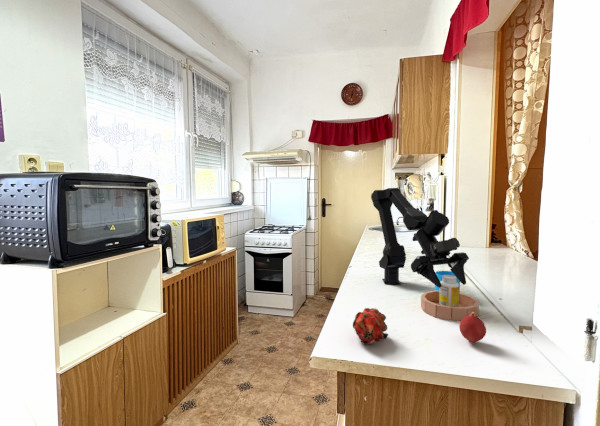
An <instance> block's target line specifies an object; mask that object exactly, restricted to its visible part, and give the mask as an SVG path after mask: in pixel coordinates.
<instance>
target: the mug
mask: <svg viewBox="0 0 600 426" xmlns="http://www.w3.org/2000/svg"><path fill="white" fill-rule="evenodd" d="M435 273H436V275H437V277H438V279H439V281H440V282H441V281H442V278H443V275H453V276H455V275H454V274H453V273H452V271H451V270H437V271H435ZM456 280H457V281H456V282H457V283H458V284H459V293H461V282H460V281H459V280H458V278H457V277H456ZM434 291H440V288H439V287H437V286H436V285H435V284H434Z"/></svg>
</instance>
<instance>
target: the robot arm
mask: <svg viewBox="0 0 600 426" xmlns="http://www.w3.org/2000/svg"><path fill="white" fill-rule="evenodd" d="M370 199H371V203H372V205H373V207H374V209H376V210H377V211H378V215H379V219H380V224H381V230H382V234H383V239H384V243H385V244H384V247H383V250H382V257H381V258H380V260H379V261H378V264H379V265H378V266H379V267H380V268H381V269H383V270H384V275H383V276H384V277H383V278H382V282H383V283H384V285H402V282H401V281H400V277H399V276H400V269H403V268H405V265H406V260H407V257H406V255H407V253H406V250H405V246H404V245H401V244H400V243H399V242H398V238H397V233H396V232H397V231H396V228H395V223H394V220H393V214H392V210H391V208H392V206H393V205H394V206H395V208H396V209H397V210H398V212H399V213H400V215H402V223H403V224H404V226H405V227H406V229H407V230H408V231H416V232H414V233H413V237H412V242H417V243H418V245H419V246H420V248H421V250H420V253H421V255H418V256H416V257H415V258H414V260H413V261H412V262H411V264H410V269H411V271H412V273H417V274H418V275H421V276H422V277H424V278H425V279H427V280H428V281H430V282H431V283H432V284H433V285H434V286H435V285H436V286H437V287H439V288H440V287H441V286H442V285H441V283H440V281H439V279H438V277H437V275H436V273H435V272H436V271H435V269H434V267H435V266H441V265H448V267H449V268H450V269H449V271H452V273H453V274H454V275H455V276H456V277H457V278H458V280H459V281H460V284H462V285H463V286H465V285H466V284H467V279H466V274H465V264H466V263H467V262H468V260H469V259H470V257H469V256H468V254H467V253H466V252H454V253H453V254H452V255H451V256H450V254H451V252H452V251H456V250H458V248H460V245H461V244H460V241H459V240H458V238H457V237H451V238H449V239H446V240H445V239H443V240H439V241H438V239H437V236H440V234H441V233H442V232H443V231H444V230H445V229H446V228H447V227H448V225H449V223H450V219H449V217H448V216H446V215H445V214H443V213H442V212H439V211H438V209H432V210H431V211H430V213H429V215H427V214H426V213H425V212H423V211H422V210H419V209H418V208H416V207H414V206H413V204H411V202H410V201H409V200H408V199H407V198H406V197H405V195H404V194H403V193H402V192H401V189H400V188H398V187H388V188H385V189H374V190H373V192H371V195H370ZM448 256H450V257H448Z"/></svg>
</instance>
